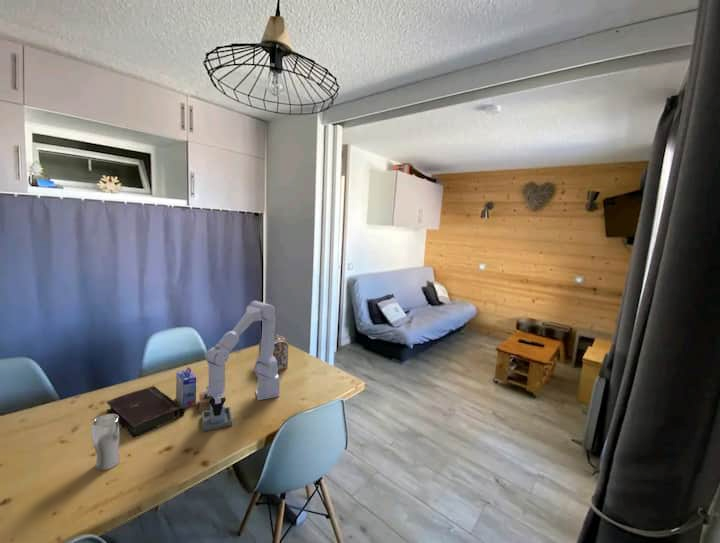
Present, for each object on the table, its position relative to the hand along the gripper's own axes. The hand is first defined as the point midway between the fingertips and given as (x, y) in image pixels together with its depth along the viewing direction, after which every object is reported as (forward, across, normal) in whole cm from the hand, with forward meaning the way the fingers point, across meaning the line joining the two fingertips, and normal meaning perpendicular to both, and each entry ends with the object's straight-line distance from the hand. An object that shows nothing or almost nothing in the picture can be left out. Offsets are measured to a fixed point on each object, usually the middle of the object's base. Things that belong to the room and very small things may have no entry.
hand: (217, 411), depth 125 cm
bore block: (+4, -13, -2) cm, 14 cm away
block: (+3, 0, 0) cm, 3 cm away
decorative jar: (+4, -40, +30) cm, 50 cm away
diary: (+5, -15, -25) cm, 30 cm away
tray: (+4, 0, 0) cm, 4 cm away
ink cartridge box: (+4, -19, -11) cm, 22 cm away
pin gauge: (+4, -13, -2) cm, 14 cm away
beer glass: (+4, +11, -32) cm, 34 cm away
